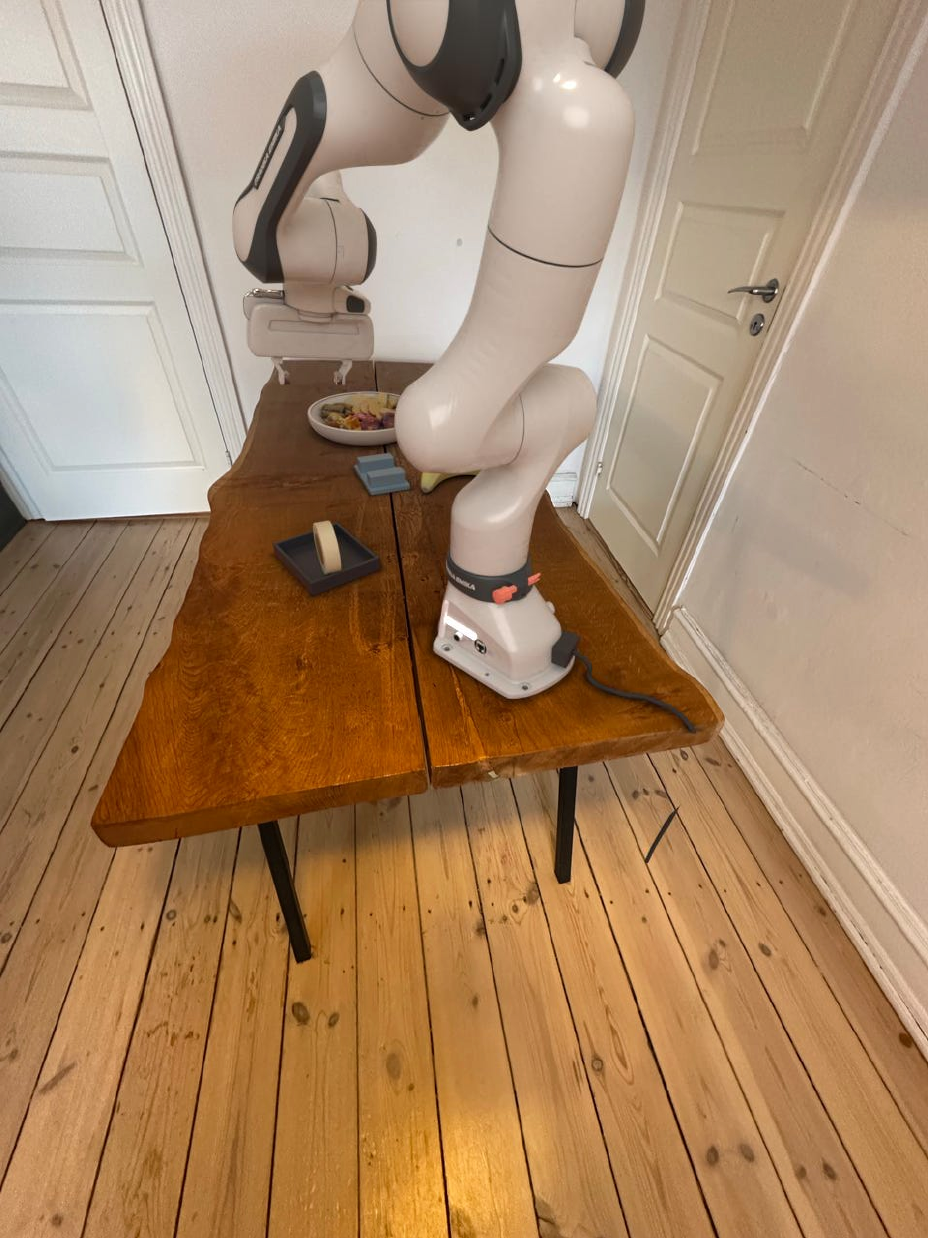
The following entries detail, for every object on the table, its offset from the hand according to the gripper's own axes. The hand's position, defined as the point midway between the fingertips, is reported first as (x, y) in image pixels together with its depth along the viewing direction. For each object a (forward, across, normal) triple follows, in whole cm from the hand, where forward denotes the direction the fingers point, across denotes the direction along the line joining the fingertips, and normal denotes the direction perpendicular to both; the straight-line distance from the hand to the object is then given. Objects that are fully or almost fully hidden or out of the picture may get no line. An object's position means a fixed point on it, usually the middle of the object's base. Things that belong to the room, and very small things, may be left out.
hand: (312, 383), depth 94 cm
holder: (+26, +19, +11) cm, 34 cm away
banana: (+23, +36, +2) cm, 43 cm away
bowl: (+27, +26, +41) cm, 56 cm away
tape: (+20, -3, -19) cm, 28 cm away
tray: (+26, -2, -16) cm, 31 cm away
